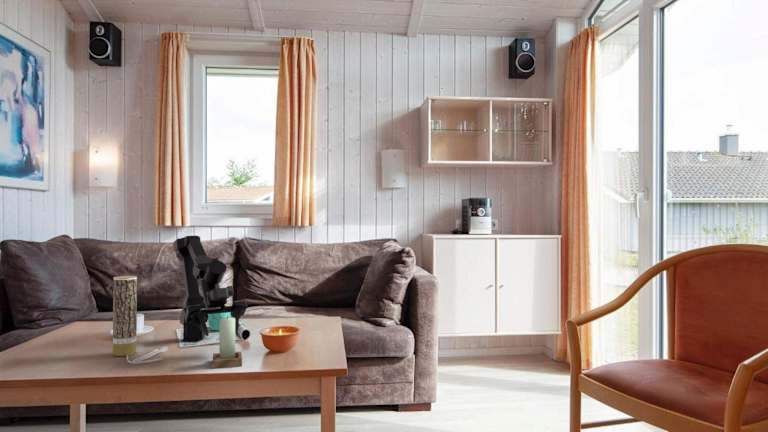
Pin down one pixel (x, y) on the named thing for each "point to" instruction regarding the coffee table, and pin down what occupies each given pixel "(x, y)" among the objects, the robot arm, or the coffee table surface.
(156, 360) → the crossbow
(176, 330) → the coffee table surface
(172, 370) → the coffee table surface
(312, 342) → the coffee table surface
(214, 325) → the decorative dice
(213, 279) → the robot arm
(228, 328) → the candle
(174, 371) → the coffee table surface
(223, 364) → the holder
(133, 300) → the wooden log cylinder
